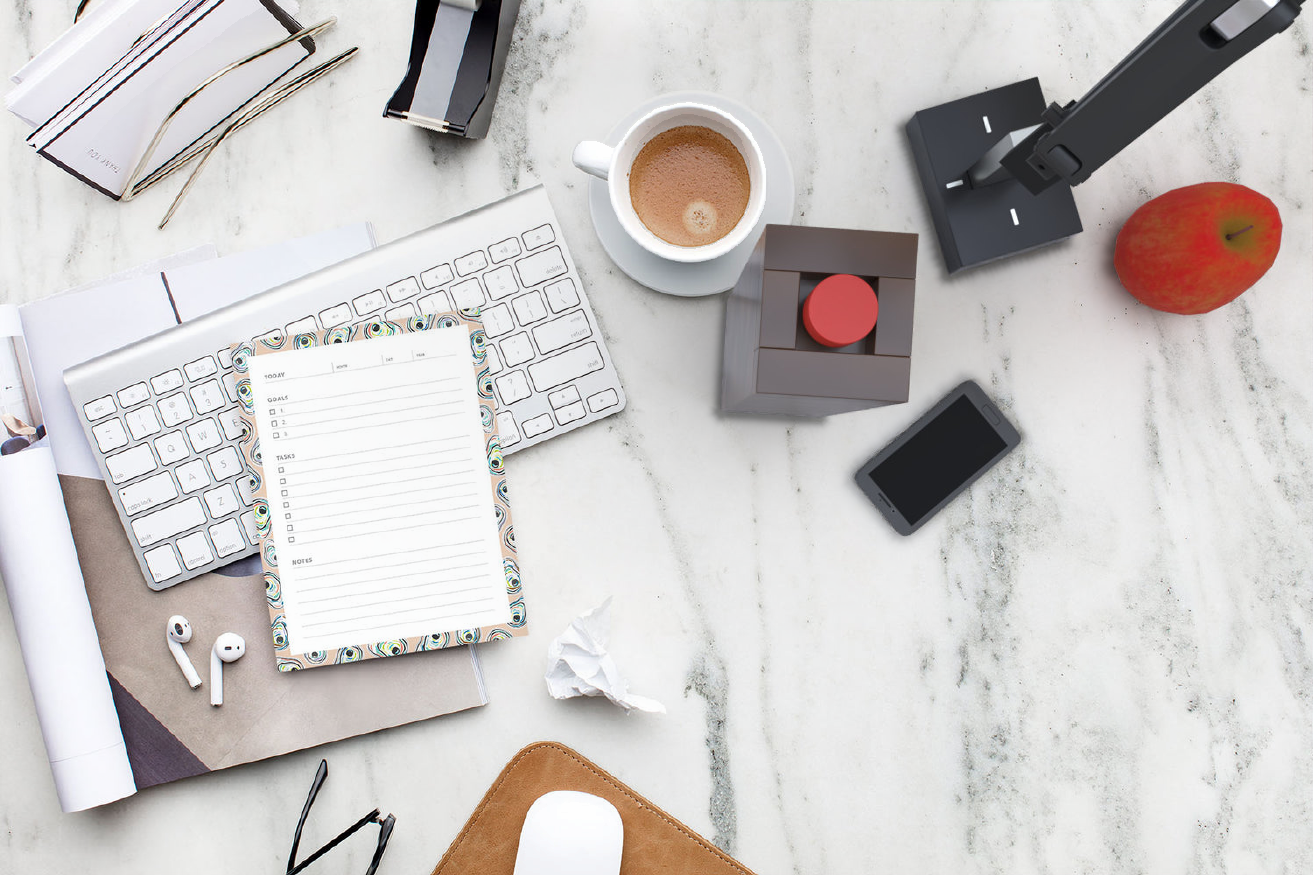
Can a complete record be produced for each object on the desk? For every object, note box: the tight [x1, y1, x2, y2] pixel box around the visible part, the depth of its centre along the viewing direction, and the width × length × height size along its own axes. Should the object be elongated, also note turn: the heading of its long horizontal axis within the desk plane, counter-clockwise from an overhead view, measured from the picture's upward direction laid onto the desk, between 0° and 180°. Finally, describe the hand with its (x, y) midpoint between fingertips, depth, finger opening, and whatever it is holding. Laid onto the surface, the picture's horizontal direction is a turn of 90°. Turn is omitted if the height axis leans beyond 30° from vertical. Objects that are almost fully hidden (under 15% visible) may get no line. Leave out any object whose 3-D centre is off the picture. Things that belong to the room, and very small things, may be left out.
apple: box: [1112, 181, 1284, 316], centre depth 64 cm, size 11×11×11 cm
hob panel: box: [905, 76, 1084, 275], centre depth 68 cm, size 14×11×3 cm
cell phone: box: [854, 379, 1022, 537], centre depth 69 cm, size 7×14×1 cm, turn 130°
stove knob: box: [968, 123, 1043, 189], centre depth 63 cm, size 6×2×8 cm, turn 106°
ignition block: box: [720, 223, 919, 418], centre depth 58 cm, size 10×9×24 cm
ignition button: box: [803, 274, 878, 348], centre depth 45 cm, size 4×4×2 cm
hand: (1106, 83), depth 42 cm, fingers open, 13 cm apart
